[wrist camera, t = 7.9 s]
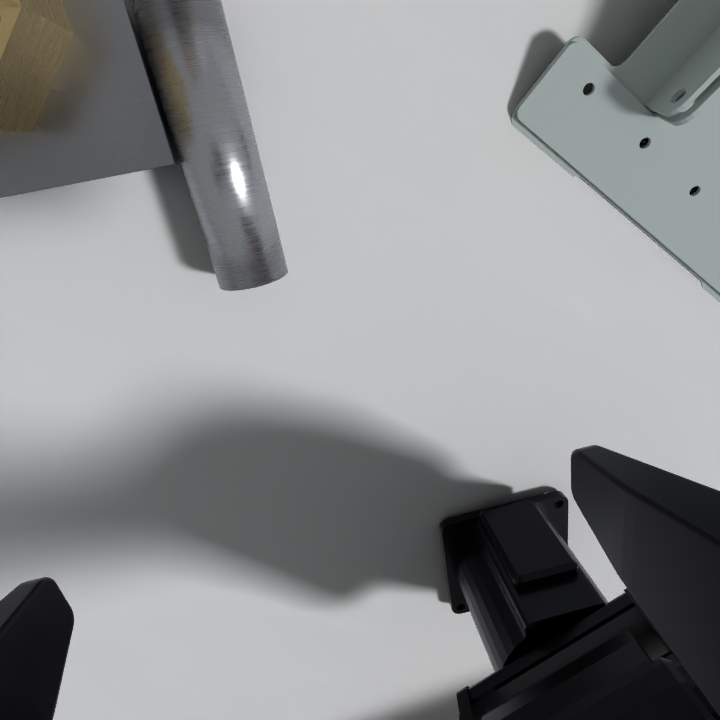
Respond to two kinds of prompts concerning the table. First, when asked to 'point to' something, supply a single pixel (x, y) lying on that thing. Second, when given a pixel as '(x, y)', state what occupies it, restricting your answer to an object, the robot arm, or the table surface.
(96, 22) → the square base plate
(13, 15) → the collar ring
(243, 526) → the table surface
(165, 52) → the steel pin
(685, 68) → the metal bracket
